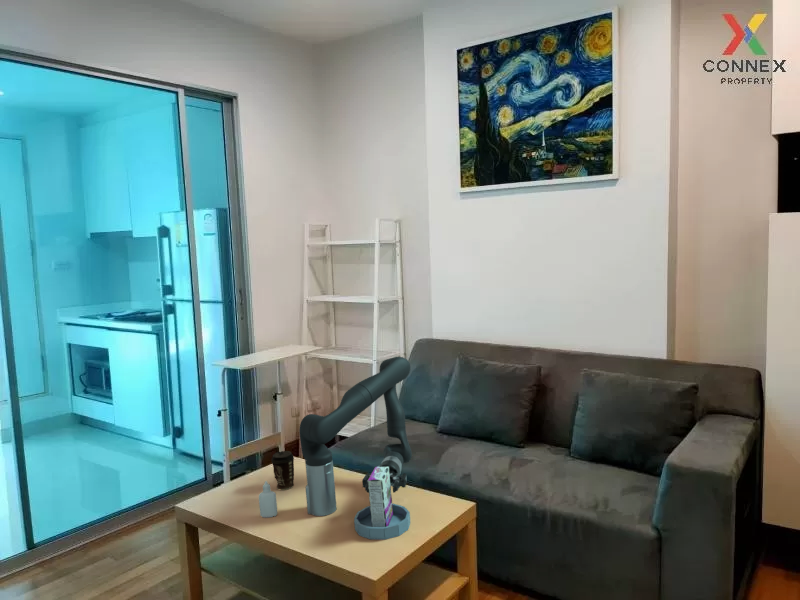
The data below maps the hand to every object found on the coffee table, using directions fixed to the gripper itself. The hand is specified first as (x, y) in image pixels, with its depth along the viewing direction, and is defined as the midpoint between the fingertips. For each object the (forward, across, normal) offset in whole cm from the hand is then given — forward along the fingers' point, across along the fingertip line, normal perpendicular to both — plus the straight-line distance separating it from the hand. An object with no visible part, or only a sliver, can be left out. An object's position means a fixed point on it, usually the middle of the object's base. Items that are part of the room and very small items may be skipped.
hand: (380, 489), depth 186 cm
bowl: (+1, 0, +12) cm, 12 cm away
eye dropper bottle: (-6, -41, +12) cm, 43 cm away
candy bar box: (+1, 0, +11) cm, 11 cm away
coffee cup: (-30, -44, +12) cm, 54 cm away
